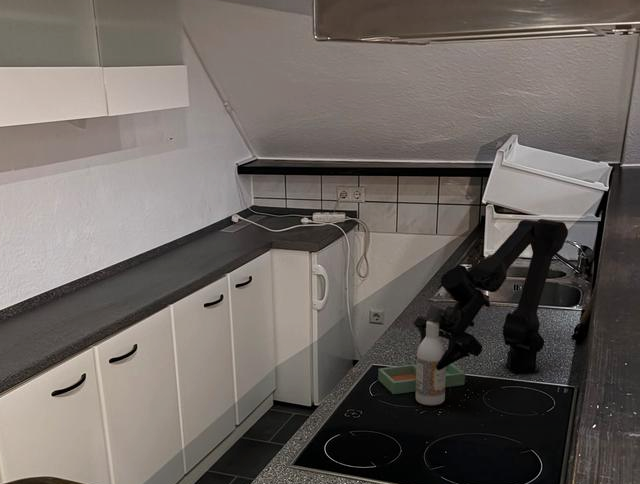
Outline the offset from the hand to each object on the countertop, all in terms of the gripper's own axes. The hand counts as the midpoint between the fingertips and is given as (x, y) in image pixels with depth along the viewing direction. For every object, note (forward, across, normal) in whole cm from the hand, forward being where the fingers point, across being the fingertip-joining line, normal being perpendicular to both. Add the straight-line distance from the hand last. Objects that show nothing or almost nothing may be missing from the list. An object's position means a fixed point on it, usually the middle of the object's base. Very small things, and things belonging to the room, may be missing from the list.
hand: (426, 364), depth 180 cm
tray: (+2, -10, +12) cm, 16 cm away
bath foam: (+6, 0, +8) cm, 10 cm away
